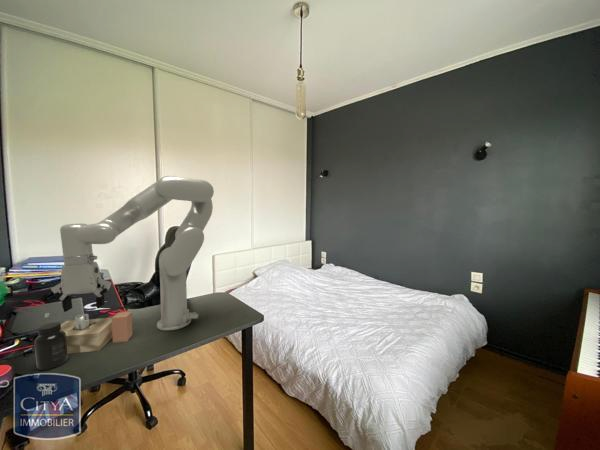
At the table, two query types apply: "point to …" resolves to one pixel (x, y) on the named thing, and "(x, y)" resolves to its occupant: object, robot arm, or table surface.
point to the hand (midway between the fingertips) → (84, 308)
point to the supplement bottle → (50, 346)
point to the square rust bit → (122, 326)
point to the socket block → (88, 335)
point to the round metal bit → (82, 321)
